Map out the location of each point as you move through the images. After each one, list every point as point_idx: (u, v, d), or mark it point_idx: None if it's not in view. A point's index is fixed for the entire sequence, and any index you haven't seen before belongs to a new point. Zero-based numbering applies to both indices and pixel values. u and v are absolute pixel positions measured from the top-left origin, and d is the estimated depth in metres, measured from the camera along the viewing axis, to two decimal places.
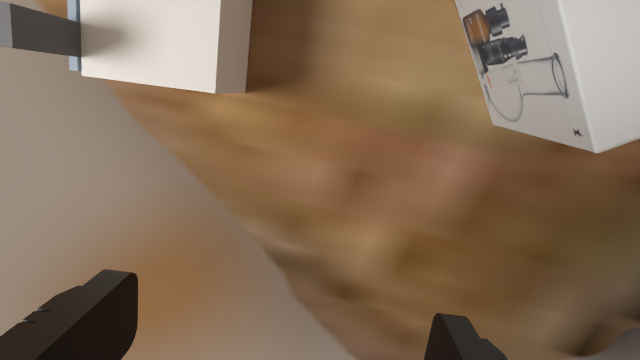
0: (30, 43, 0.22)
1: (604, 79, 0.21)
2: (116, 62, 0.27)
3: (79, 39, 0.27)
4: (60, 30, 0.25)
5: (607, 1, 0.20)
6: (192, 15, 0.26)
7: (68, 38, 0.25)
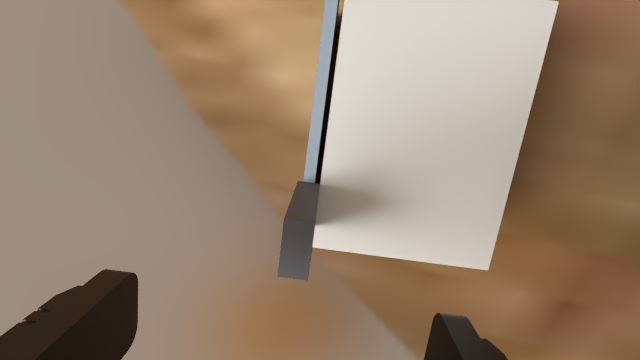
0: None
1: None
2: (361, 232, 0.20)
3: None
4: None
5: None
6: (475, 177, 0.19)
7: None
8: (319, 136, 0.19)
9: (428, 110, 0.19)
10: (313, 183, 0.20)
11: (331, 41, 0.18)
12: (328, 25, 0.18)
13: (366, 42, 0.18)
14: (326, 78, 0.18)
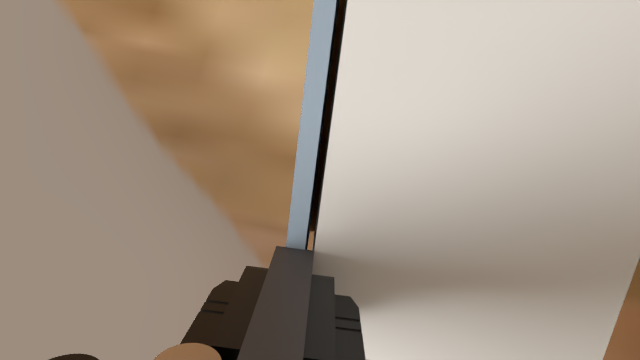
0: None
1: None
2: (383, 328, 0.12)
3: None
4: None
5: None
6: (580, 240, 0.11)
7: None
8: (312, 171, 0.11)
9: (505, 127, 0.11)
10: (302, 250, 0.11)
11: (333, 3, 0.10)
12: None
13: (397, 5, 0.10)
14: (324, 70, 0.10)
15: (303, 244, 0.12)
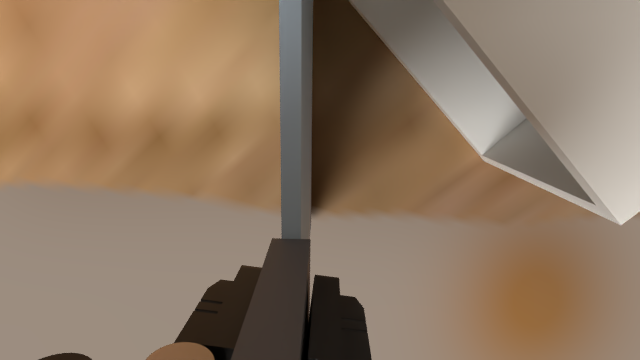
0: None
1: None
2: None
3: None
4: (307, 300, 0.10)
5: None
6: None
7: (308, 297, 0.11)
8: (299, 160, 0.11)
9: None
10: (298, 240, 0.11)
11: None
12: None
13: None
14: (298, 56, 0.10)
15: (298, 233, 0.11)
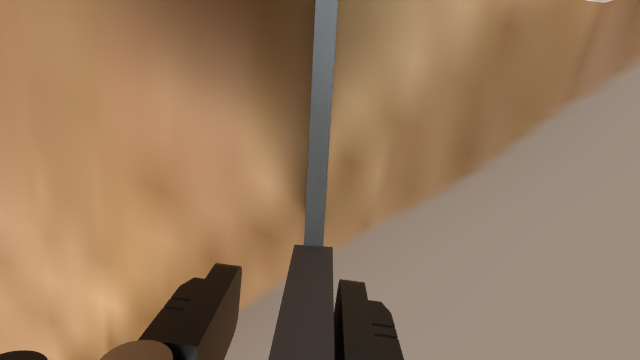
0: None
1: None
2: None
3: None
4: None
5: None
6: None
7: None
8: (325, 168, 0.11)
9: None
10: (321, 247, 0.11)
11: None
12: None
13: None
14: (331, 65, 0.10)
15: (321, 241, 0.12)
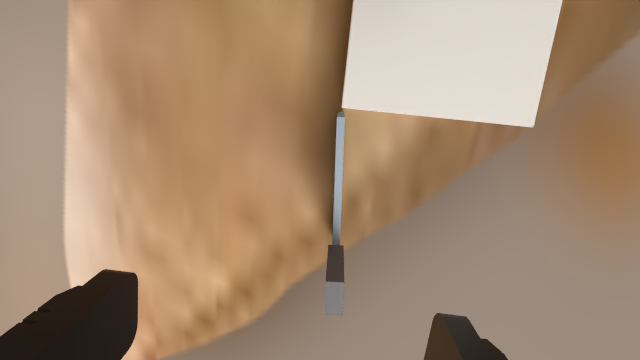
0: None
1: None
2: (523, 88, 0.26)
3: None
4: None
5: None
6: (483, 0, 0.25)
7: None
8: (340, 215, 0.29)
9: (430, 44, 0.26)
10: (338, 245, 0.29)
11: (342, 156, 0.28)
12: (339, 147, 0.28)
13: (383, 93, 0.27)
14: (341, 179, 0.28)
15: (338, 243, 0.30)
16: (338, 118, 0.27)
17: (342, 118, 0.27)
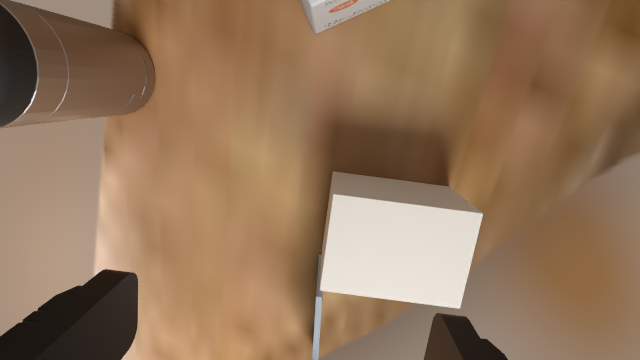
0: None
1: None
2: (452, 283, 0.36)
3: None
4: None
5: None
6: (423, 225, 0.34)
7: None
8: None
9: (385, 252, 0.35)
10: None
11: (319, 323, 0.37)
12: (317, 316, 0.37)
13: (351, 282, 0.36)
14: (318, 338, 0.38)
15: None
16: (317, 297, 0.36)
17: (320, 297, 0.37)
